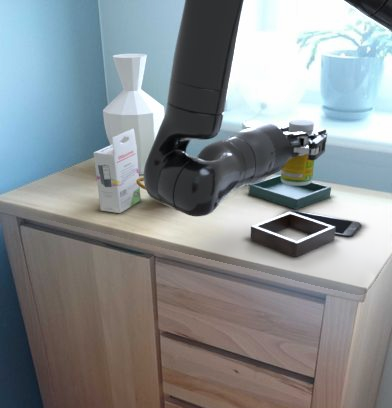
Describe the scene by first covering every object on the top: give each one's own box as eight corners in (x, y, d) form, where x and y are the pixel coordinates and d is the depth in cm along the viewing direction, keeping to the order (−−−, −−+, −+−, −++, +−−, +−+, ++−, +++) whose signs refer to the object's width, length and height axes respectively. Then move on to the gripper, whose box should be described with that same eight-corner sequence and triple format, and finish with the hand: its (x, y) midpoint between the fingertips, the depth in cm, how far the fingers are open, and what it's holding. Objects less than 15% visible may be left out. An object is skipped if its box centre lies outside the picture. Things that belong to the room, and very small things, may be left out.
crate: (334, 240, 100) (336, 226, 98) (295, 257, 94) (297, 243, 92) (288, 224, 106) (289, 211, 105) (250, 239, 100) (250, 226, 99)
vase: (97, 170, 137) (84, 56, 123) (143, 158, 145) (135, 50, 131) (132, 182, 129) (123, 61, 115) (179, 169, 137) (175, 55, 123)
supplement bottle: (308, 187, 94) (315, 126, 88) (277, 184, 95) (281, 124, 90) (314, 178, 98) (320, 120, 92) (284, 175, 99) (288, 117, 94)
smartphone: (350, 240, 101) (351, 235, 100) (273, 225, 107) (274, 220, 106) (362, 226, 106) (363, 222, 105) (288, 213, 112) (289, 209, 112)
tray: (330, 196, 119) (331, 187, 118) (296, 209, 113) (297, 199, 112) (282, 182, 127) (283, 173, 126) (248, 194, 121) (249, 184, 120)
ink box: (121, 197, 120) (115, 125, 112) (141, 201, 118) (136, 127, 110) (98, 210, 114) (90, 135, 105) (119, 214, 112) (112, 137, 104)
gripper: (297, 135, 77) (350, 114, 88) (213, 122, 85) (272, 105, 96) (292, 188, 81) (344, 162, 92) (213, 172, 89) (269, 150, 100)
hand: (307, 133), depth 94 cm, fingers closed on supplement bottle, 5 cm apart
